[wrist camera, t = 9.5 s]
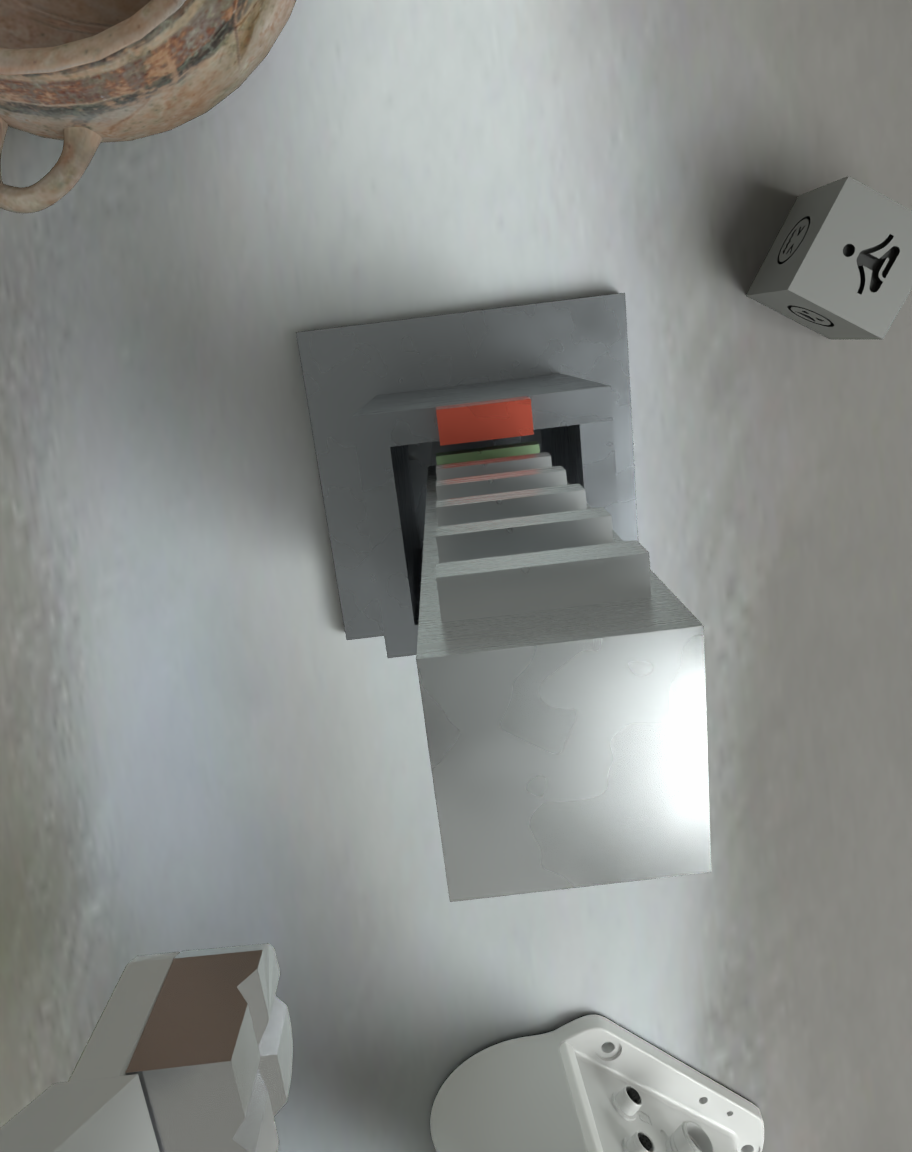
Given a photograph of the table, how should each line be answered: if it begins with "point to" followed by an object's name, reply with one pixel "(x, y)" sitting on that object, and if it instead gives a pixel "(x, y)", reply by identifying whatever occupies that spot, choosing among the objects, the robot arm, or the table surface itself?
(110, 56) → the cooking pot
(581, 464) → the sleeve
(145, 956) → the robot arm
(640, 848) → the column
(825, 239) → the dice cube
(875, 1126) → the table surface
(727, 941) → the table surface
